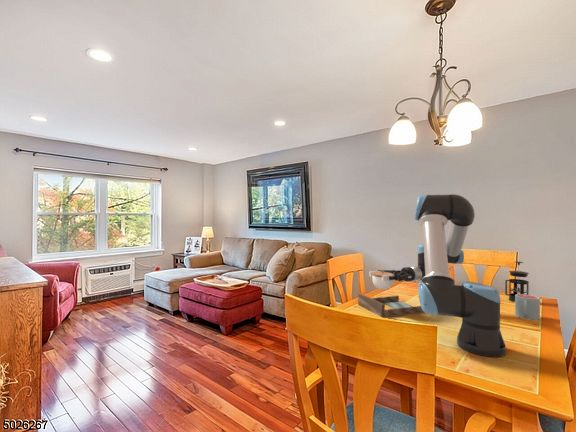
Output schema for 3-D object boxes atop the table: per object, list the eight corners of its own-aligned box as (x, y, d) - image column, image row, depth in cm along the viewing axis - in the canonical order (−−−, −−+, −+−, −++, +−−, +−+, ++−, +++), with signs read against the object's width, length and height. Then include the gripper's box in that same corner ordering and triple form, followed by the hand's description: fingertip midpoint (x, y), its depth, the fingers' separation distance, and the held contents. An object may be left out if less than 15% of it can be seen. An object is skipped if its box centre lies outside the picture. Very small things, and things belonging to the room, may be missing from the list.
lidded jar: (395, 291, 146) (395, 272, 146) (372, 290, 148) (372, 271, 148) (391, 286, 157) (391, 269, 157) (371, 285, 159) (371, 268, 159)
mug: (516, 312, 148) (516, 293, 149) (540, 317, 142) (540, 296, 142) (512, 319, 139) (512, 298, 139) (537, 324, 132) (537, 302, 132)
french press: (526, 299, 173) (526, 261, 173) (533, 304, 164) (533, 263, 164) (502, 297, 176) (502, 259, 176) (508, 302, 167) (509, 262, 167)
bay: (397, 300, 168) (397, 290, 168) (425, 312, 148) (425, 300, 148) (358, 304, 160) (358, 293, 160) (381, 317, 140) (382, 304, 140)
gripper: (427, 285, 147) (390, 288, 140) (396, 276, 169) (363, 278, 162) (427, 270, 147) (390, 272, 140) (396, 263, 169) (363, 265, 162)
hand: (376, 276), depth 151 cm, fingers closed on lidded jar, 11 cm apart
